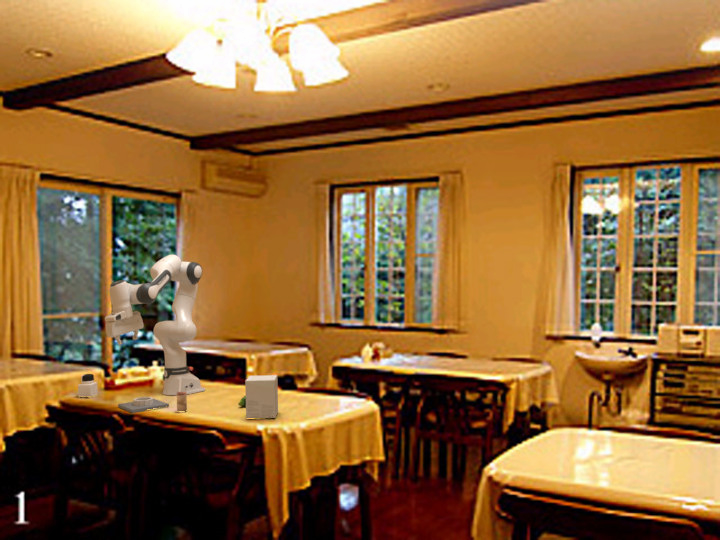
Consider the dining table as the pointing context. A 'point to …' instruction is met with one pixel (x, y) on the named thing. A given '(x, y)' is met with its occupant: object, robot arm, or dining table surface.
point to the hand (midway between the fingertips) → (128, 342)
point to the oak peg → (181, 401)
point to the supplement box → (261, 396)
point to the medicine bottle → (87, 386)
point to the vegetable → (242, 402)
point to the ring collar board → (141, 408)
